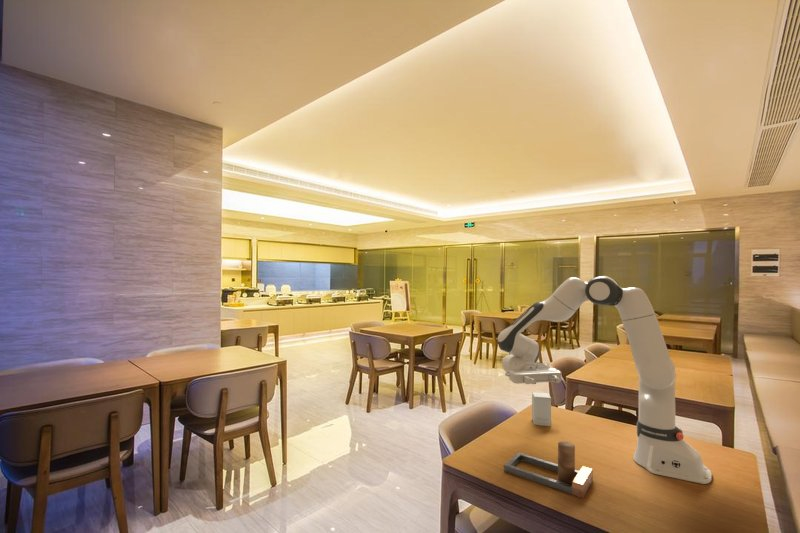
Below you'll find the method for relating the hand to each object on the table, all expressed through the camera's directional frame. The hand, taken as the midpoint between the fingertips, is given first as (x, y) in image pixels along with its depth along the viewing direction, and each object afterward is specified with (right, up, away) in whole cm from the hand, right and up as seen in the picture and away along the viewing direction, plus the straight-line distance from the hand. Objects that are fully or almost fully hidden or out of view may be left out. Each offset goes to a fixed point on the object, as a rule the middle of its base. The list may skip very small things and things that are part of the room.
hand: (546, 381), depth 143 cm
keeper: (0, -27, -18) cm, 33 cm away
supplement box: (+10, -29, +33) cm, 45 cm away
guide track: (-5, -28, -14) cm, 31 cm away
